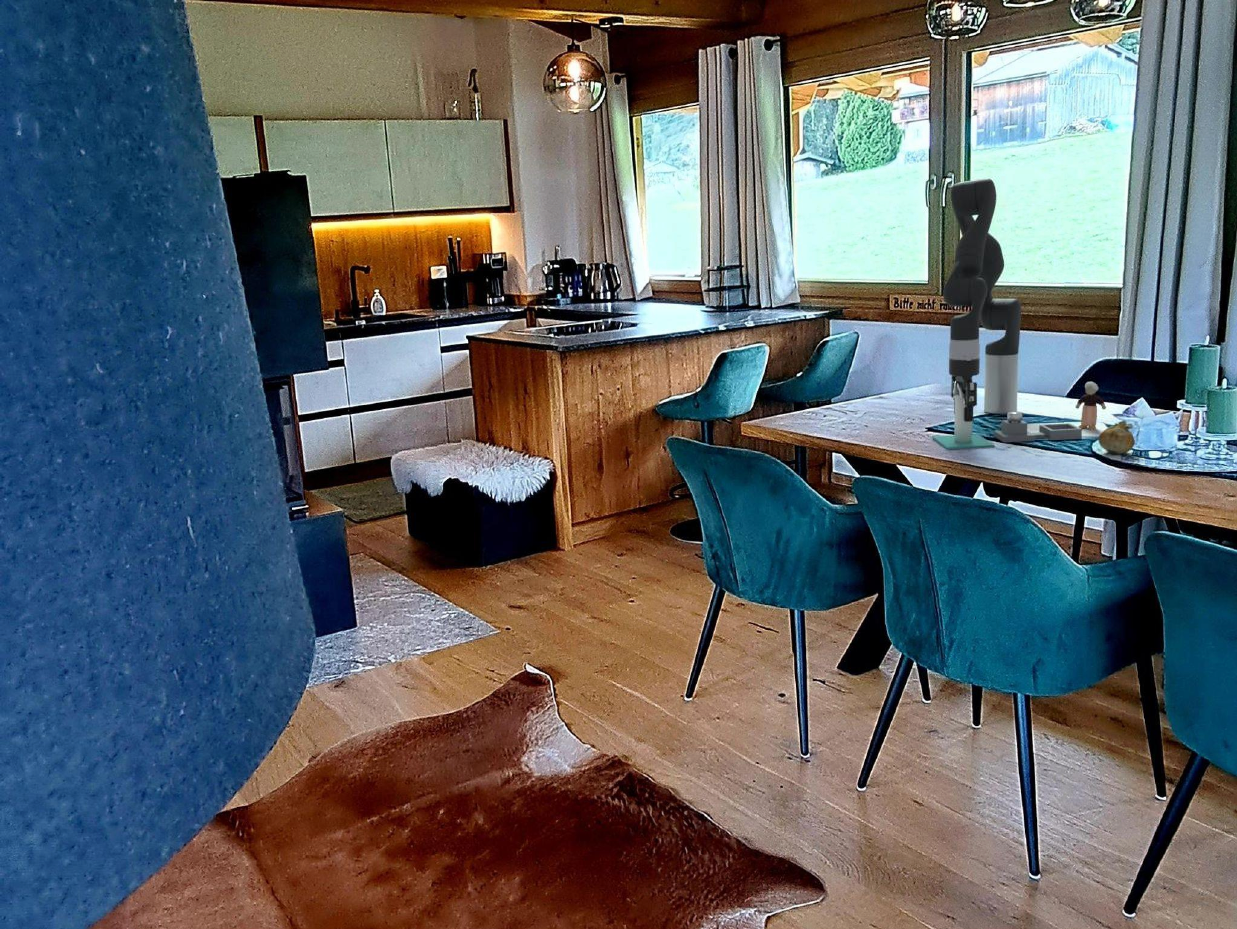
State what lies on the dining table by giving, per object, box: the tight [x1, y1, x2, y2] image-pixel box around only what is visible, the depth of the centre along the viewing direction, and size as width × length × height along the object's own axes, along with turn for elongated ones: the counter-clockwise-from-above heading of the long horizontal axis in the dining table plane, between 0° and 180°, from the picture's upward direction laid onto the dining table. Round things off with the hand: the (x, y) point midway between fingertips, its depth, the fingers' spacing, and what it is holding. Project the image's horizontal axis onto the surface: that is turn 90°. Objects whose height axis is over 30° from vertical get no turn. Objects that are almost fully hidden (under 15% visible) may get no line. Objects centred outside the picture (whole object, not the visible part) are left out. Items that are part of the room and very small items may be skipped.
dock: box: [993, 419, 1083, 443], centre depth 281 cm, size 8×20×4 cm, turn 89°
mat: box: [932, 433, 996, 451], centre depth 280 cm, size 14×12×1 cm
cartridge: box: [953, 393, 973, 442], centre depth 278 cm, size 4×4×13 cm
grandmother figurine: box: [1075, 381, 1107, 430], centre depth 287 cm, size 8×4×13 cm, turn 62°
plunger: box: [1006, 411, 1023, 423], centre depth 281 cm, size 4×4×4 cm
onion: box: [1098, 420, 1136, 455], centre depth 259 cm, size 8×8×8 cm
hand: (963, 418), depth 279 cm, fingers open, 8 cm apart
